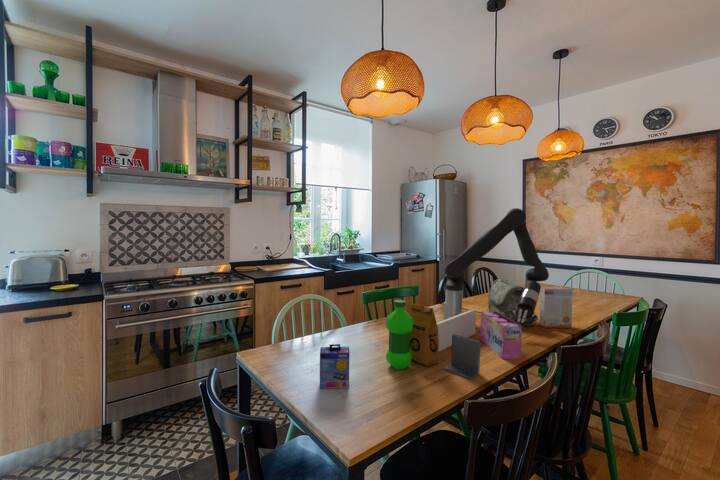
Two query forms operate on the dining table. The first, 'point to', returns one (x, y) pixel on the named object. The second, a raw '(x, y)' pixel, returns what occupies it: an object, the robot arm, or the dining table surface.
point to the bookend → (464, 357)
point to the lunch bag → (504, 298)
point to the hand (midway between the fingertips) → (518, 330)
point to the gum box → (501, 335)
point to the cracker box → (556, 307)
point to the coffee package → (424, 335)
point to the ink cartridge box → (334, 367)
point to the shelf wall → (456, 328)
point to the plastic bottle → (399, 336)
